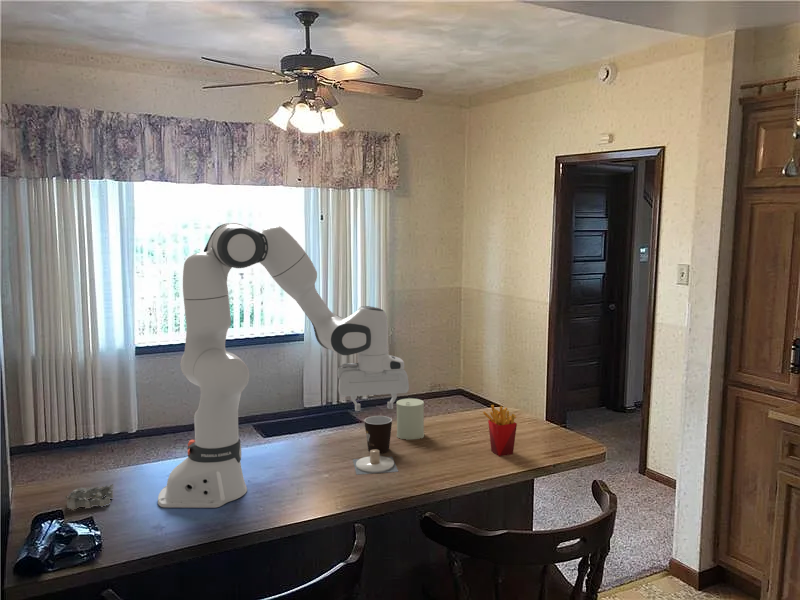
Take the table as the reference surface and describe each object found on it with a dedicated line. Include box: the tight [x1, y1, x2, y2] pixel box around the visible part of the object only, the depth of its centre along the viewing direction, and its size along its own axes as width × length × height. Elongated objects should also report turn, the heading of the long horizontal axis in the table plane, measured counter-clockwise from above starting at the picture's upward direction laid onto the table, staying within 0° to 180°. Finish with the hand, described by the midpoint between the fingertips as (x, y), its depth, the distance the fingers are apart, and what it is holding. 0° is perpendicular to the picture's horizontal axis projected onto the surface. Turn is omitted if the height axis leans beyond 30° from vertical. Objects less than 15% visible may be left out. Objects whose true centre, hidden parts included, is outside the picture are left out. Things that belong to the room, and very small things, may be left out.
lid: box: [356, 449, 395, 472], centre depth 196 cm, size 11×11×4 cm
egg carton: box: [65, 483, 114, 509], centre depth 173 cm, size 11×8×4 cm
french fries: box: [482, 404, 518, 457], centre depth 204 cm, size 9×8×15 cm
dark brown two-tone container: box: [363, 415, 393, 455], centre depth 209 cm, size 12×9×10 cm
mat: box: [352, 456, 399, 476], centre depth 196 cm, size 12×12×1 cm
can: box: [396, 397, 425, 441], centre depth 222 cm, size 9×9×12 cm
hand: (374, 409), depth 194 cm, fingers open, 8 cm apart
